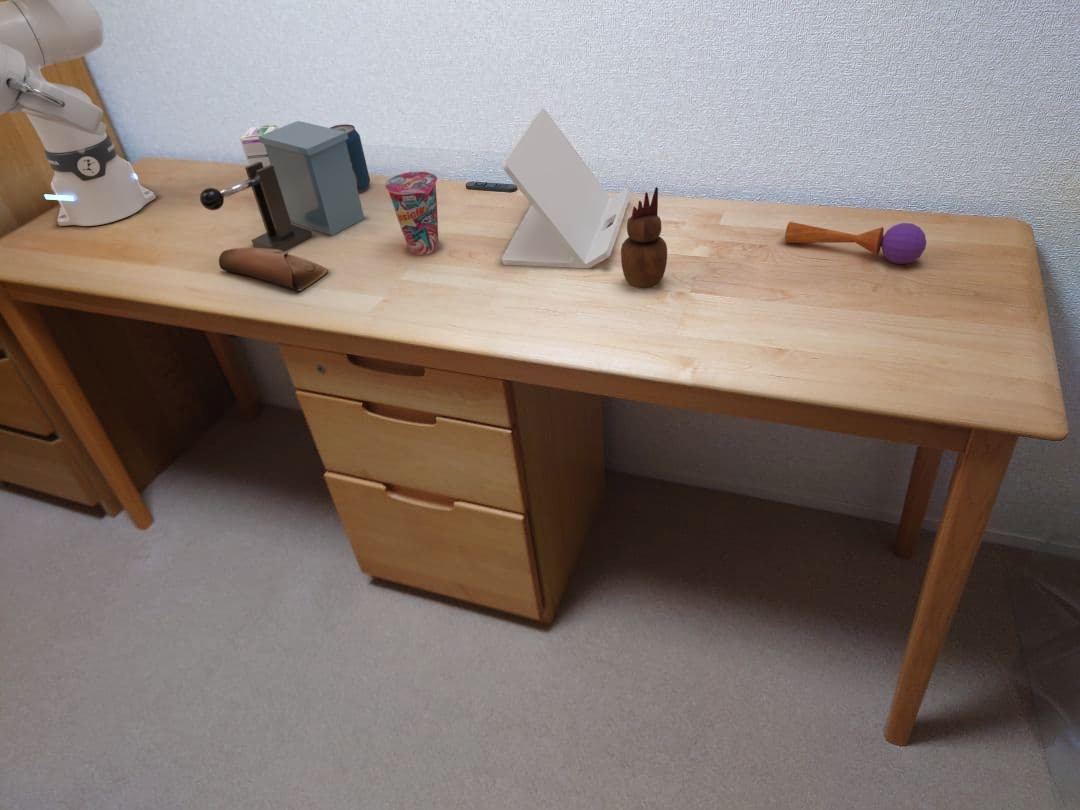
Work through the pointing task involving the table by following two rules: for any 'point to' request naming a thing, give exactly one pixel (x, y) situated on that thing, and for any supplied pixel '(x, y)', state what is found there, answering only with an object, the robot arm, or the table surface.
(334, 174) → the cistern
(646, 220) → the wooden figurine
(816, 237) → the kendama
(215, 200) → the flush lever
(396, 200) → the cup
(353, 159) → the soda can
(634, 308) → the table surface
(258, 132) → the syrup box
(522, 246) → the tablet stand
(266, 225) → the bracket
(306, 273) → the sunglasses case
